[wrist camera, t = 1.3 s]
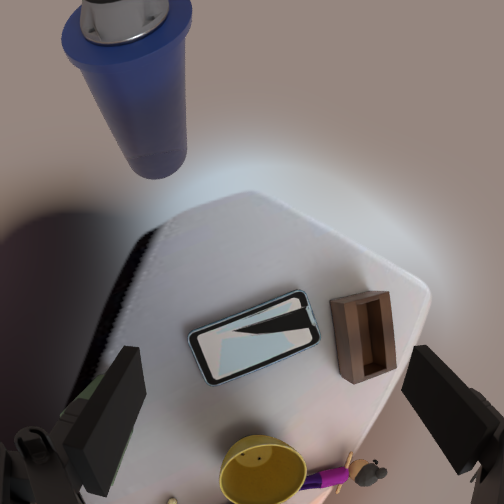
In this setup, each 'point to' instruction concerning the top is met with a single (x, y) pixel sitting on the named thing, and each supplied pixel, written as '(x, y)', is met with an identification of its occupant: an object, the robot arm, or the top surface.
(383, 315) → the holder
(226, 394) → the top surface
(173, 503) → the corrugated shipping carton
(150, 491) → the top surface
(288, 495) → the flower pot
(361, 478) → the toy
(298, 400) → the top surface
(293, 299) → the smartphone
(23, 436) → the robot arm
